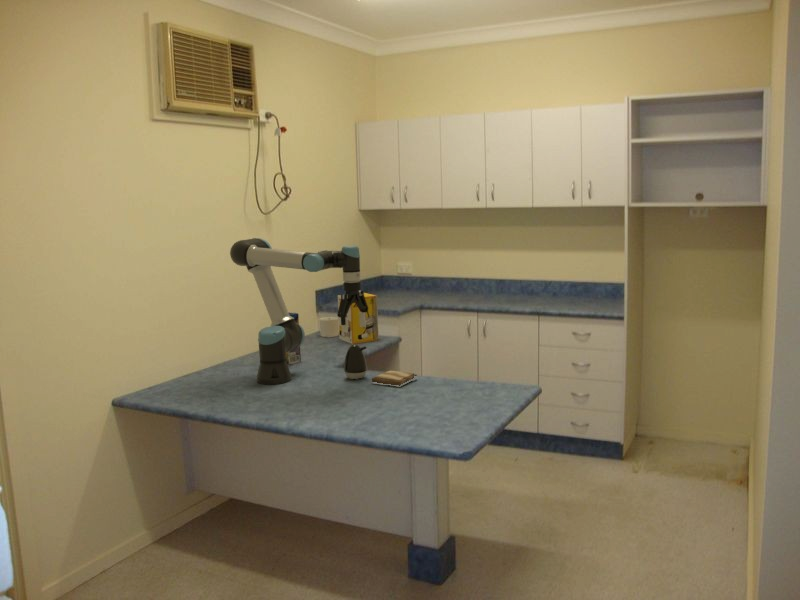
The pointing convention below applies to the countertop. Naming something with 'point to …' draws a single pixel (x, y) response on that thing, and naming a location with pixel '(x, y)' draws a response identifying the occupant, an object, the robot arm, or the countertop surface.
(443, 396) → the countertop surface
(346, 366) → the pump dispenser
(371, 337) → the packaging box
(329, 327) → the toilet tissue
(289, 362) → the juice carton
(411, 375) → the stand
